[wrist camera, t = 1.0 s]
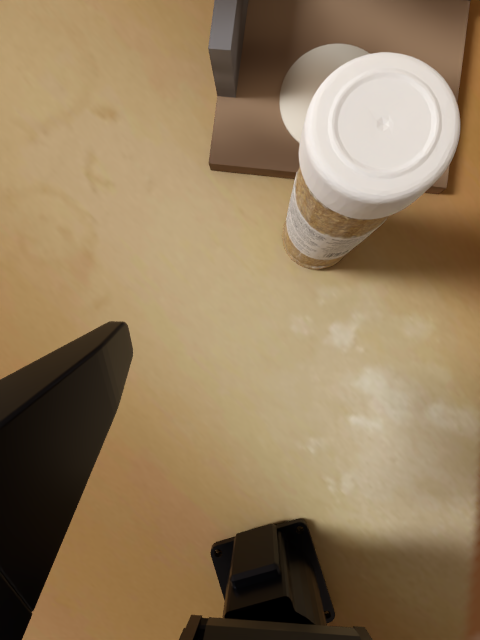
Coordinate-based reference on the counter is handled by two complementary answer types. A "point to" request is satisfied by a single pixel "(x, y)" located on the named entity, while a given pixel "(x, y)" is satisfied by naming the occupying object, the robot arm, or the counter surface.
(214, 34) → the corner arena
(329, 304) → the counter surface
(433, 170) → the sprinkles bottle
